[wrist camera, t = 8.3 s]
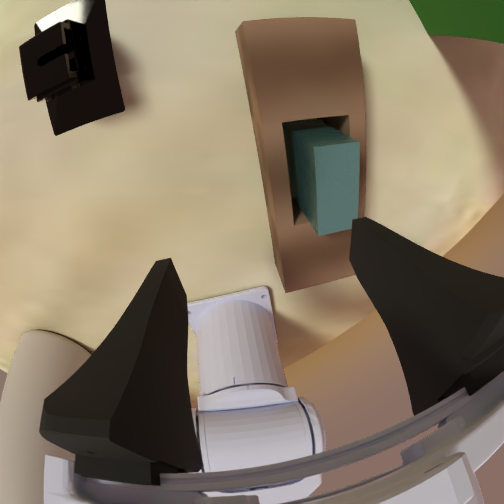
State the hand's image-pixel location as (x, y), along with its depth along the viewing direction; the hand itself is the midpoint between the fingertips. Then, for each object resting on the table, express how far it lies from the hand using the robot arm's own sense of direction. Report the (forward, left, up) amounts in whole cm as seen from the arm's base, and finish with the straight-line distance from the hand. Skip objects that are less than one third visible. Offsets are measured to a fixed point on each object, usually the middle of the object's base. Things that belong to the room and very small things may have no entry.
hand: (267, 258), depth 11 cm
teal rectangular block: (0, -5, -9) cm, 10 cm away
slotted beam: (0, -5, -9) cm, 10 cm away
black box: (+11, +9, -10) cm, 17 cm away
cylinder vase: (-17, +27, -10) cm, 33 cm away
